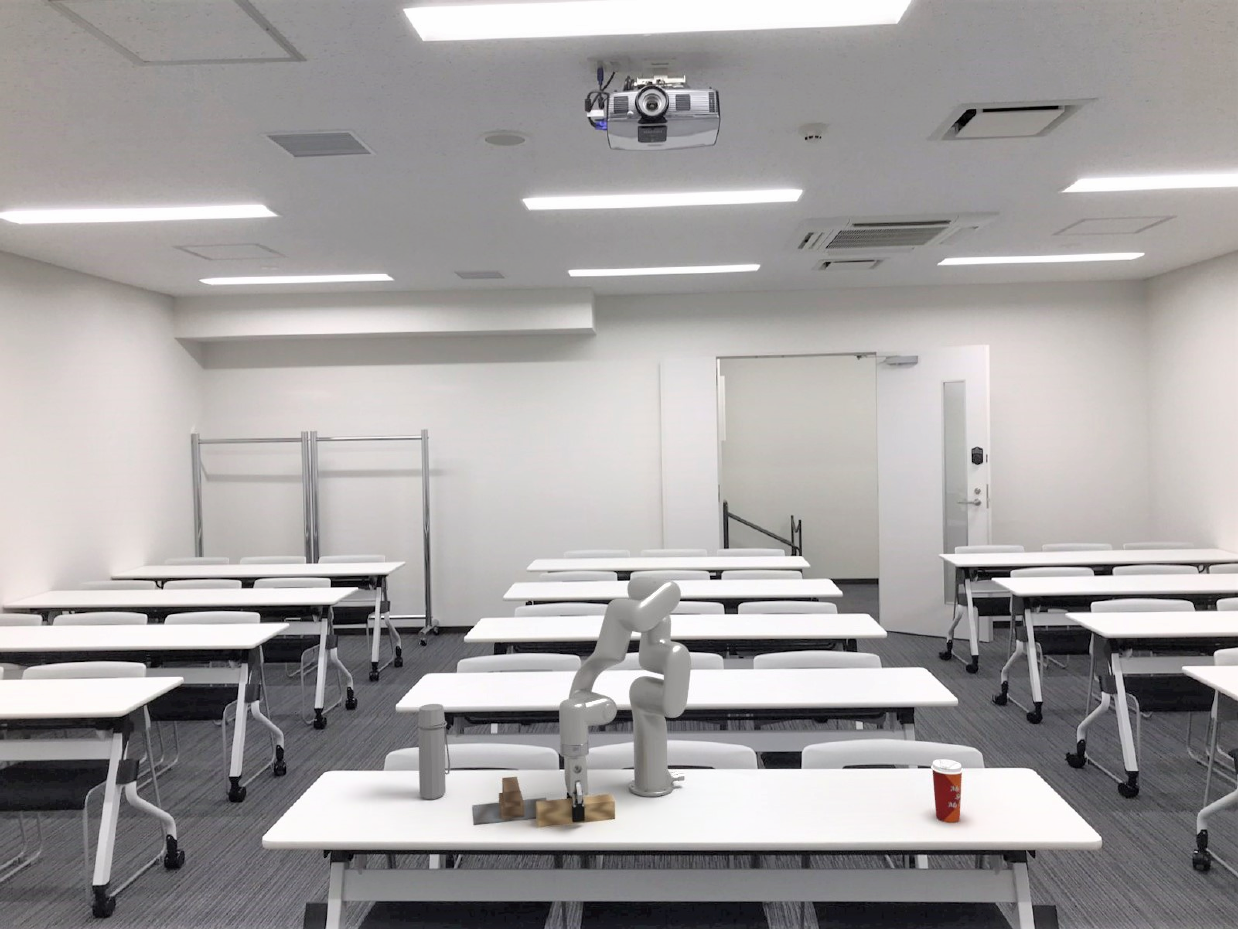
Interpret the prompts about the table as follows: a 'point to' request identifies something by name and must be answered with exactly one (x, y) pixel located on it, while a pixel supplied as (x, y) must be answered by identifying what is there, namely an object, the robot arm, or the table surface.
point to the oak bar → (562, 810)
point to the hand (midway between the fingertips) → (575, 814)
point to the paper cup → (947, 789)
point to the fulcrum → (506, 805)
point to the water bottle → (432, 751)
